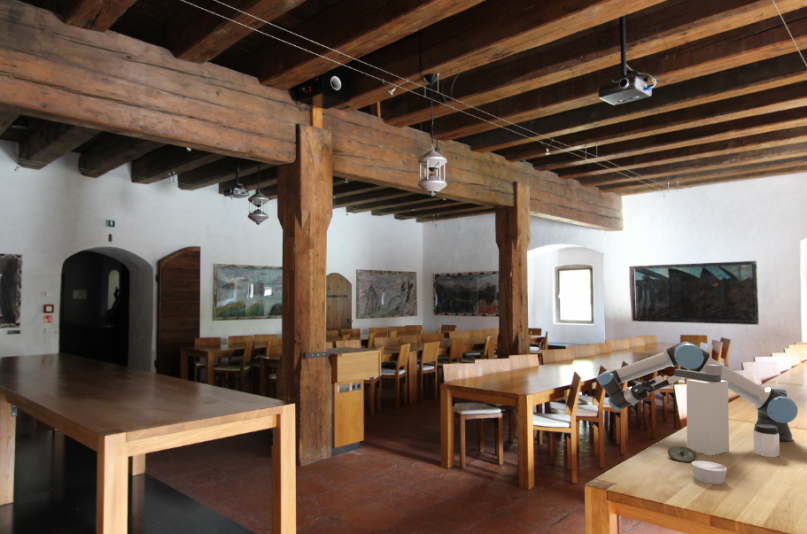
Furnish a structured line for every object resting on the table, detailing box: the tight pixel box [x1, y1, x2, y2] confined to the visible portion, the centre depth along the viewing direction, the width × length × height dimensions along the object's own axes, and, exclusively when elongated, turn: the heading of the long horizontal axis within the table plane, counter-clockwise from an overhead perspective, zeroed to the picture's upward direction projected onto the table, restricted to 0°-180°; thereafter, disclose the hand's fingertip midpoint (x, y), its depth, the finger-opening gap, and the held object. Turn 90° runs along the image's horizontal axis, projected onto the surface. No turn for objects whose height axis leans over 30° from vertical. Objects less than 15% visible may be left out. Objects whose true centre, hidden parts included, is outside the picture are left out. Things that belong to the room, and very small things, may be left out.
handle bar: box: [674, 364, 723, 383], centre depth 233 cm, size 5×19×7 cm, turn 30°
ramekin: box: [691, 460, 728, 485], centre depth 191 cm, size 11×11×5 cm
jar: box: [753, 423, 780, 458], centre depth 223 cm, size 9×8×12 cm
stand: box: [686, 378, 730, 456], centre depth 228 cm, size 14×10×30 cm
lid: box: [667, 445, 698, 463], centre depth 215 cm, size 11×10×5 cm
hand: (670, 377), depth 243 cm, fingers open, 13 cm apart
